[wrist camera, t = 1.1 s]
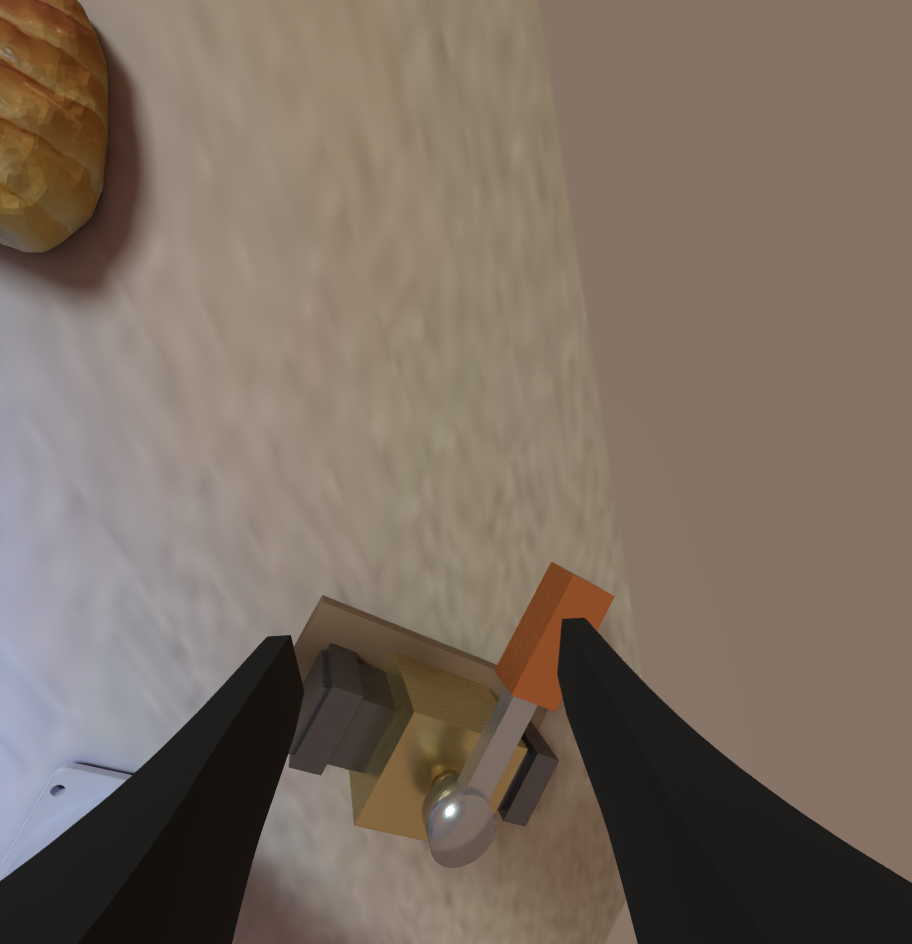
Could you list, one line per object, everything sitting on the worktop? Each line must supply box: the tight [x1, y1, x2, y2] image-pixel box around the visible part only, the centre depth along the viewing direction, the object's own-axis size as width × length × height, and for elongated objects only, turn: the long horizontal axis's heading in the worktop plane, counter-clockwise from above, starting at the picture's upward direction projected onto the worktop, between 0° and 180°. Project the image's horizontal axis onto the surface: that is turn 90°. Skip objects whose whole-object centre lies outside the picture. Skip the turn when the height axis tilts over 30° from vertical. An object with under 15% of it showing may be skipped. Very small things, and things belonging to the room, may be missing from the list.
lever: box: [422, 562, 615, 868], centre depth 17 cm, size 12×3×2 cm, turn 150°
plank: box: [294, 595, 548, 729], centre depth 23 cm, size 7×15×1 cm, turn 60°
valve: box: [288, 643, 559, 841], centre depth 20 cm, size 5×13×5 cm, turn 60°
